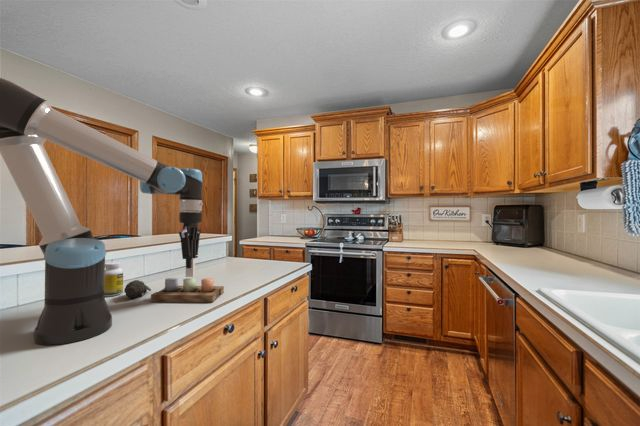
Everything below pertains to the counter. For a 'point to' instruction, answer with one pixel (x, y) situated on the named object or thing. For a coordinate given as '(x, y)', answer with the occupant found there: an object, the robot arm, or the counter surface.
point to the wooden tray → (188, 295)
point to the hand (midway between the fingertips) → (190, 276)
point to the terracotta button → (207, 285)
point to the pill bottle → (113, 279)
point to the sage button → (189, 284)
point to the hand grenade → (136, 289)
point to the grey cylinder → (171, 284)
